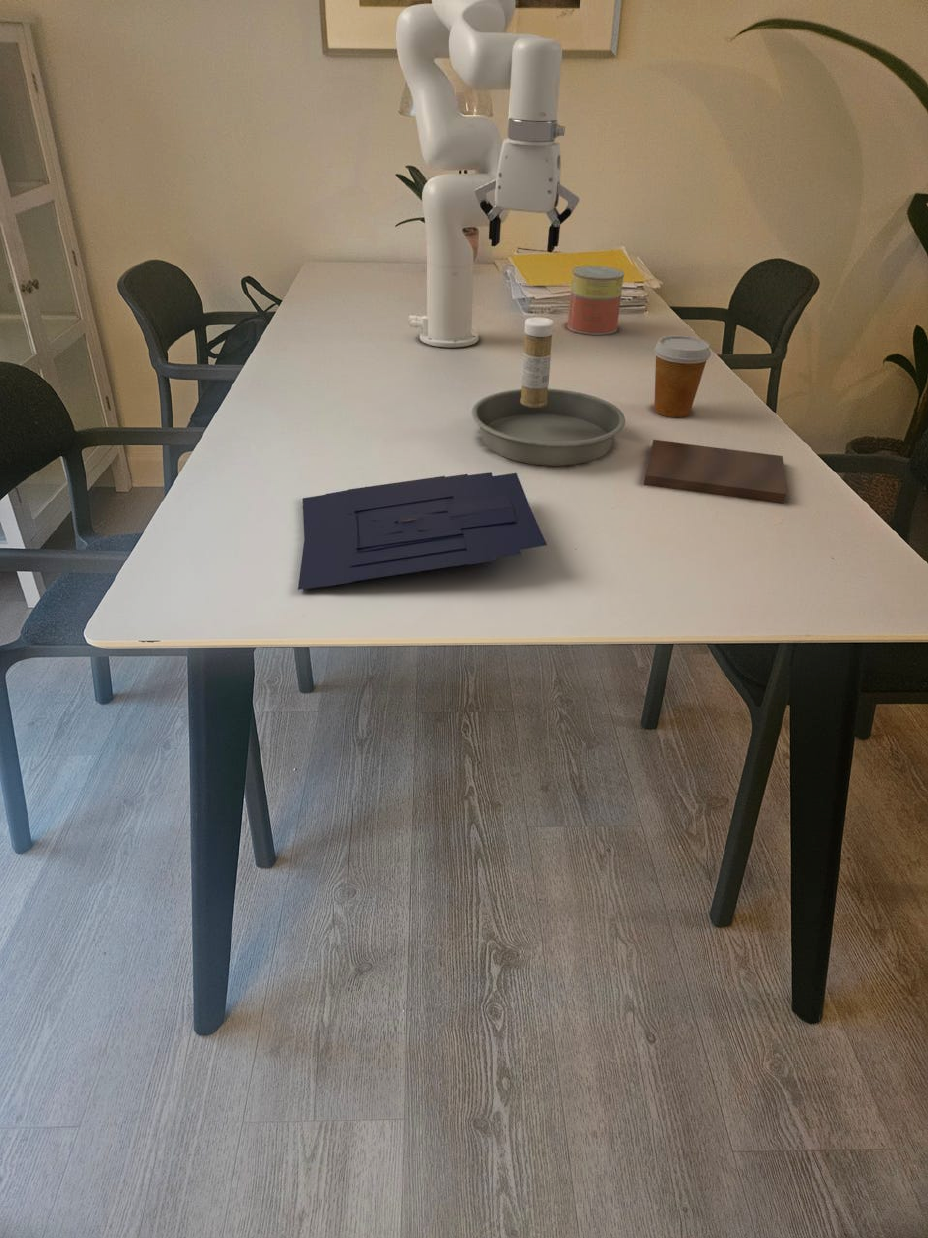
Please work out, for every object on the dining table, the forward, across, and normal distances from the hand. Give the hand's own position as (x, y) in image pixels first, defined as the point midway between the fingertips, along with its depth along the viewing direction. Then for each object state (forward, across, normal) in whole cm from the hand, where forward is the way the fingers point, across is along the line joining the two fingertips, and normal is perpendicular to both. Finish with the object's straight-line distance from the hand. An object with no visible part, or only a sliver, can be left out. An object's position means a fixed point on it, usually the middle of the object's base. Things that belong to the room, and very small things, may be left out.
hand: (522, 247), depth 145 cm
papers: (+24, -1, +60) cm, 64 cm away
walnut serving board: (+23, -38, +26) cm, 52 cm away
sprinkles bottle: (+20, -8, +19) cm, 28 cm away
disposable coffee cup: (+24, -30, +2) cm, 38 cm away
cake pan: (+24, -11, +22) cm, 34 cm away
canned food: (+26, -8, -45) cm, 53 cm away
